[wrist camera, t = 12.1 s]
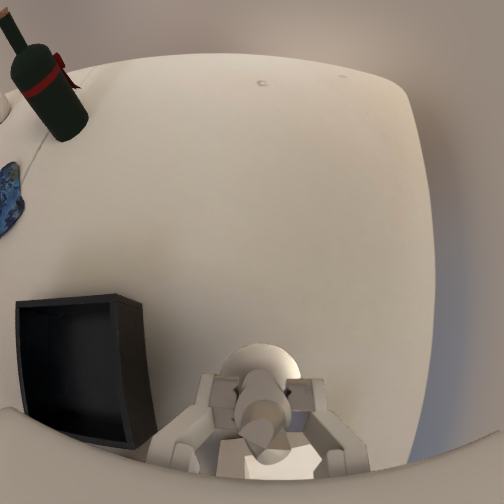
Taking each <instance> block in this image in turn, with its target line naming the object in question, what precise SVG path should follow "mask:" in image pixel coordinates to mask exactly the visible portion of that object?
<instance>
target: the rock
mask: <svg viewBox="0 0 504 504" xmlns="http://www.w3.org/2000/svg"><path fill="white" fill-rule="evenodd" d="M18 168H19V166H18V165H17V164H16V162H11V163H8V164H7V165H6V166H4V167H3V168H2V169H1V171H0V235H1V234H3V233H4V232H6V231H7V229H8V228H9V227H10V226H11V225H12V224H13V223H14V221H15V220H16V219H17V218H18V217H19V215H20V214H21V213H22V211H23V209H24V204H25V203H24V200H23V199H22V197H21V196H20V194H21V193H20V191H21V190H20V186H19V185H20V183H19V180H18V179H19V178H18V176H19V175H18V173H19V172H18V171H19V169H18Z"/></svg>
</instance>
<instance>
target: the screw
mask: <svg viewBox="0 0 504 504" xmlns="http://www.w3.org/2000/svg"><path fill="white" fill-rule="evenodd" d="M220 375H224V376H234V377H239V397H238V400H237V403H236V406H235V411H234V419H235V424H236V428H237V430H238V432H239V435H241V436H242V437H243V438H244V439H245V442H246V444H247V446H248V448H249V450H250V452H251V453H252V455H253V456H254V458H255V459H256V460H257V461H258V462H259V463H260V464H263V465H272V464H276V463H278V462H280V461H282V460H283V459H285V458H286V457H287V456H288V455H289V453H290V452H291V447H290V444H289V441H288V438H287V435H286V432H285V431H286V430H287V429H288V427H289V425H290V422H291V408H290V404H289V402H288V400H287V398H286V397H285V395H284V393H283V392H284V390H285V382H286V379H301V377H300V372H299V369H298V366H297V364H296V363H295V361H294V360H293V358H292V357H291V356H290V355H289V354H288V353H287V352H285V351H284V350H282V349H280V348H279V347H276V346H273V345H270V344H262V343H259V344H251V345H247V346H244V347H242V348H240V349H238V350H236V351H235V352H234V353H233V354H231V355H230V356H229V357H228V359H227V360H226V361H225V363H224V364H223V367H222V369H221V371H220Z"/></svg>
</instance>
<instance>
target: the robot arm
mask: <svg viewBox="0 0 504 504" xmlns="http://www.w3.org/2000/svg"><path fill="white" fill-rule="evenodd" d="M283 393H284V395H285V397H286V398H287V400H288V402H289V404H290V408H291V422H290V425H289V427H288V429H287V430H286V431H285V432H303V434H304V435H305V437H306V438H307V440H308V441H309V442H310V444H311V445H312V446H313V448H314V449H315V450H316V452H317V453H318V455H319V456H320V457H321V459H322V461H321V462H320V463H319V465H318V466H317V467H316V469H315V470H314V471H313V478H314V479H301V480H257V479H240V478H228V477H219V476H210V475H203V474H199V472H200V465H199V463H198V460H197V458H196V455H195V453H194V452H195V451H196V450H197V449H198V448H199V447H200V446H201V444H202V443H203V442H204V441H205V440H206V439H207V438H208V437H209V436H210V435H211V434H212V433H213V431H214V430H215V428H219V429H232V430H236V424H235V419H234V411H235V406H236V403H237V400H238V397H239V377H234V376H224V375H216V374H207V373H202V375H201V378H200V382H199V387H198V391H197V395H196V399H195V404H194V405H192V404H191V405H190V406H188V407H187V408H186V409H185V410H184V411H183V412H181V413H180V414H179V415H178V416H177V417H175V418H174V419H173V420H172V421H171V422H169V423H168V424H167V425H166V426H165V427H163V428H162V429H161V430H160V431H158V432H157V433H156V434H155V435H153V437H152V440H151V443H150V446H149V450H148V453H147V457H146V460H145V463H144V462H140V461H137V460H133V459H130V458H126V457H123V456H120V455H117V454H114V453H111V452H108V451H105V450H102V449H99V448H96V447H94V446H91V445H89V444H86V443H83V442H81V441H79V440H76V439H74V438H72V437H69V436H67V435H65V434H63V433H60V432H58V431H56V430H54V429H52V428H50V427H48V426H46V425H44V424H42V423H40V422H38V421H36V420H34V419H32V418H31V417H29V416H27V415H25V414H24V413H22V412H20V411H19V410H17V409H15V408H13V407H5V408H2V409H0V504H504V431H503V430H498V431H495V432H493V433H491V434H489V435H487V436H485V437H482V438H481V439H478V440H476V441H474V442H471V443H468V444H466V445H464V446H461V447H459V448H456V449H453V450H450V451H448V452H445V453H442V454H439V455H436V456H433V457H430V458H427V459H424V460H420V461H416V462H413V463H409V464H405V465H401V466H397V467H392V468H388V469H383V470H378V471H373V472H371V471H370V465H369V460H368V454H367V448H366V445H365V444H364V443H363V442H362V441H361V440H360V439H359V438H358V437H357V436H356V435H355V434H354V433H353V432H352V431H351V430H350V429H349V428H348V427H347V426H346V425H345V424H344V423H343V422H342V421H341V420H340V419H339V418H338V417H337V415H336V414H335V413H334V412H333V411H328V404H327V397H326V391H325V384H324V380H323V379H286V382H285V390H284V392H283Z"/></svg>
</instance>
